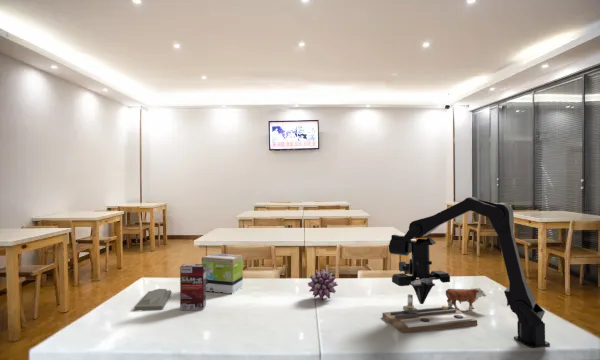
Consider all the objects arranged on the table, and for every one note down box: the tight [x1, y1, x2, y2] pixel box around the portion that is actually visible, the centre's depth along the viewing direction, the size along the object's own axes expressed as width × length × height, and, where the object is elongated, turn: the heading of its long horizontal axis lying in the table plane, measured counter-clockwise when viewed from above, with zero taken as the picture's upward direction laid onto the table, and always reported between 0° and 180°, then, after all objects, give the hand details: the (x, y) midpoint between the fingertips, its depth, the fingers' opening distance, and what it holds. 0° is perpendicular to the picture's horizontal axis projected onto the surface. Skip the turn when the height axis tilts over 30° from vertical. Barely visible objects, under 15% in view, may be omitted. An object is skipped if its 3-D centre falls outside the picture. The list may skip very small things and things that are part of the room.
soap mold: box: [133, 288, 173, 312], centre depth 149 cm, size 10×20×4 cm, turn 8°
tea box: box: [201, 252, 244, 294], centre depth 165 cm, size 15×10×15 cm
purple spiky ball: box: [307, 268, 339, 300], centre depth 150 cm, size 12×12×12 cm
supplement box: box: [179, 263, 207, 311], centre depth 141 cm, size 9×5×16 cm, turn 91°
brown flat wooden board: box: [382, 305, 478, 334], centre depth 125 cm, size 14×26×3 cm, turn 103°
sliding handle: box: [402, 294, 418, 314], centre depth 127 cm, size 4×3×5 cm
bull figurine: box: [445, 286, 487, 311], centre depth 137 cm, size 4×13×8 cm, turn 78°
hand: (421, 303), depth 128 cm, fingers closed
